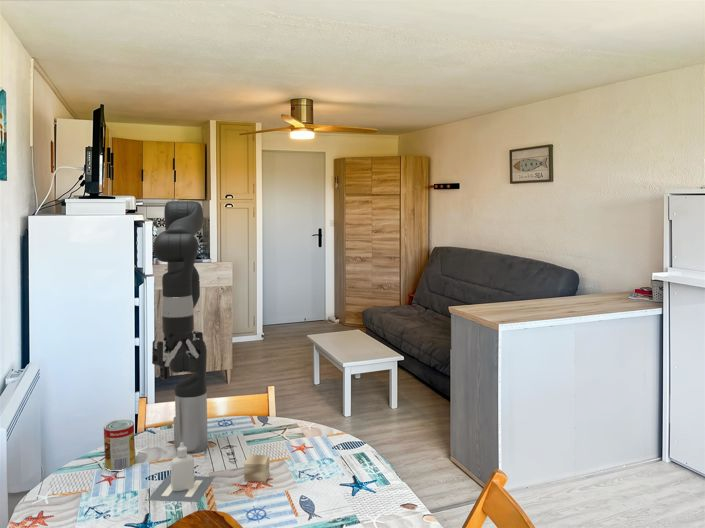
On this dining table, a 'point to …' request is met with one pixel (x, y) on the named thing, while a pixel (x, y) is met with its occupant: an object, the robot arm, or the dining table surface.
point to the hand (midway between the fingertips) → (179, 376)
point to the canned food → (119, 444)
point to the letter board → (189, 495)
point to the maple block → (256, 468)
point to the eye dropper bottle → (182, 470)
